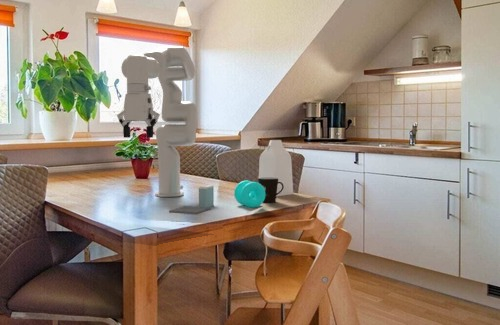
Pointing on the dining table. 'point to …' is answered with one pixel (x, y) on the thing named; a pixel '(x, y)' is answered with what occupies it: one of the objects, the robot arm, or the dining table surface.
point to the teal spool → (249, 188)
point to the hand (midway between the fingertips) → (138, 137)
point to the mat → (190, 209)
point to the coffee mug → (270, 188)
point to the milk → (277, 166)
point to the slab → (206, 196)
